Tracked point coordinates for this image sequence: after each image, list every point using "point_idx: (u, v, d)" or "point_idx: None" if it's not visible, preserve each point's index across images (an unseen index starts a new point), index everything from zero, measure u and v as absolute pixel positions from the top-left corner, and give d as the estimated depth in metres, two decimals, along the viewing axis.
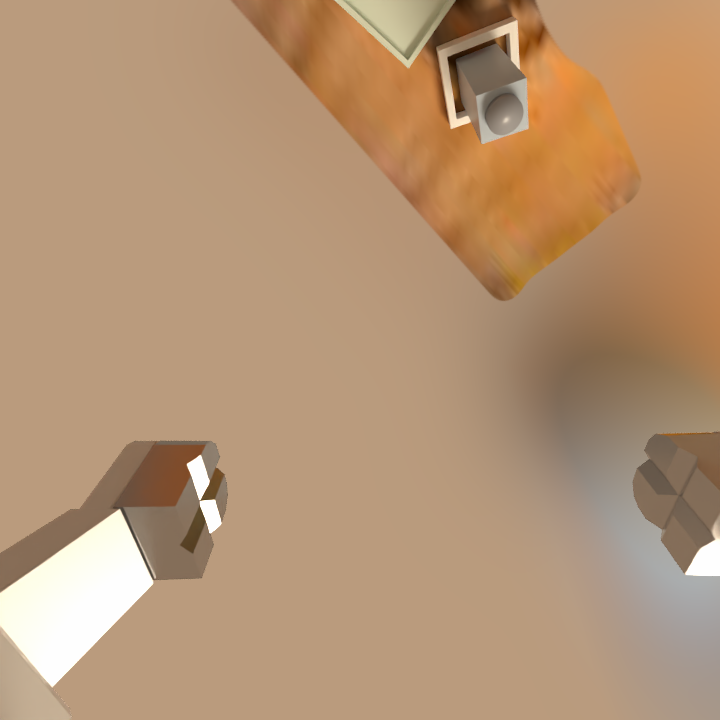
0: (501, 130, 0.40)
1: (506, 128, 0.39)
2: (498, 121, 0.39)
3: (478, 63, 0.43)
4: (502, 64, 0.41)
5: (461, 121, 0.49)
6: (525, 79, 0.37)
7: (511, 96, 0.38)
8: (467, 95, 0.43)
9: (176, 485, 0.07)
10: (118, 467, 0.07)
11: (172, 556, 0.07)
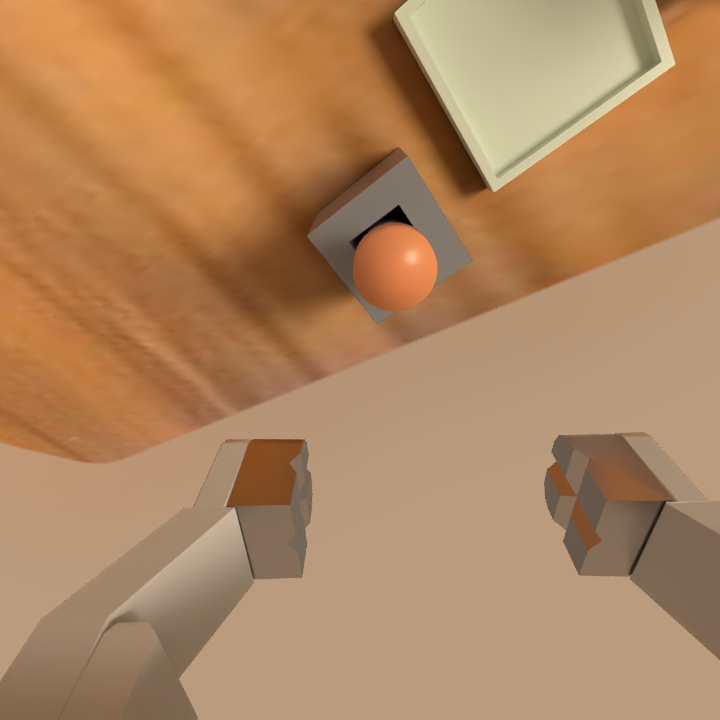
0: None
1: None
2: None
3: None
4: None
5: None
6: None
7: None
8: None
9: (284, 484, 0.07)
10: (220, 466, 0.07)
11: (277, 555, 0.07)
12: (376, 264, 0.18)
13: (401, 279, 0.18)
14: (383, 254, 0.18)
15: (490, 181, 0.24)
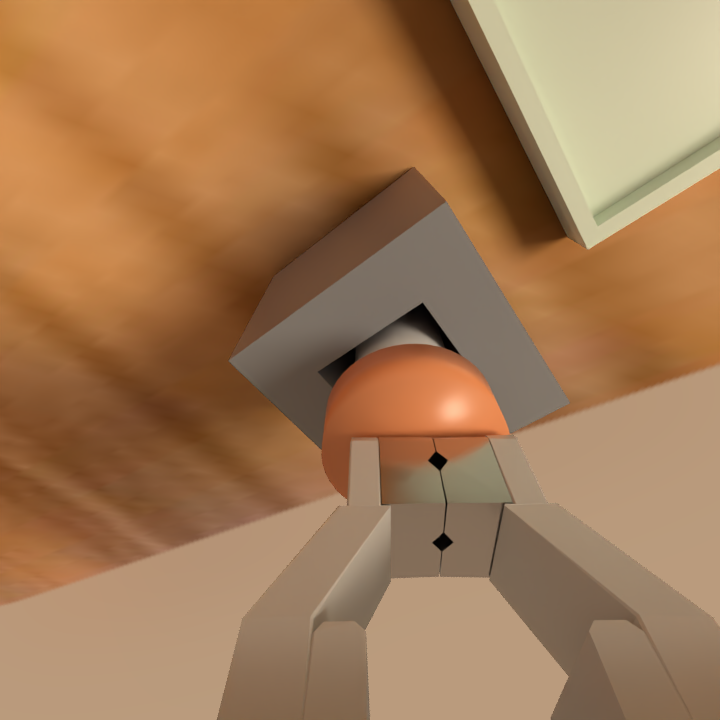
0: None
1: None
2: None
3: None
4: None
5: None
6: None
7: None
8: None
9: (431, 482, 0.07)
10: (359, 464, 0.07)
11: (419, 554, 0.07)
12: None
13: None
14: (388, 424, 0.08)
15: (583, 231, 0.13)
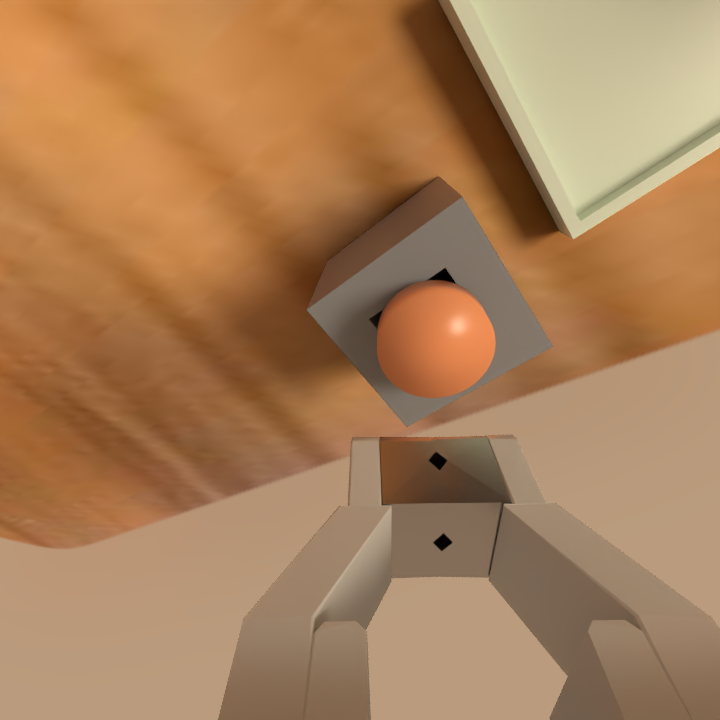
0: None
1: None
2: None
3: None
4: None
5: None
6: None
7: None
8: None
9: (432, 481, 0.07)
10: (360, 463, 0.07)
11: (420, 554, 0.07)
12: (410, 339, 0.13)
13: (444, 358, 0.13)
14: (419, 325, 0.13)
15: (569, 225, 0.17)
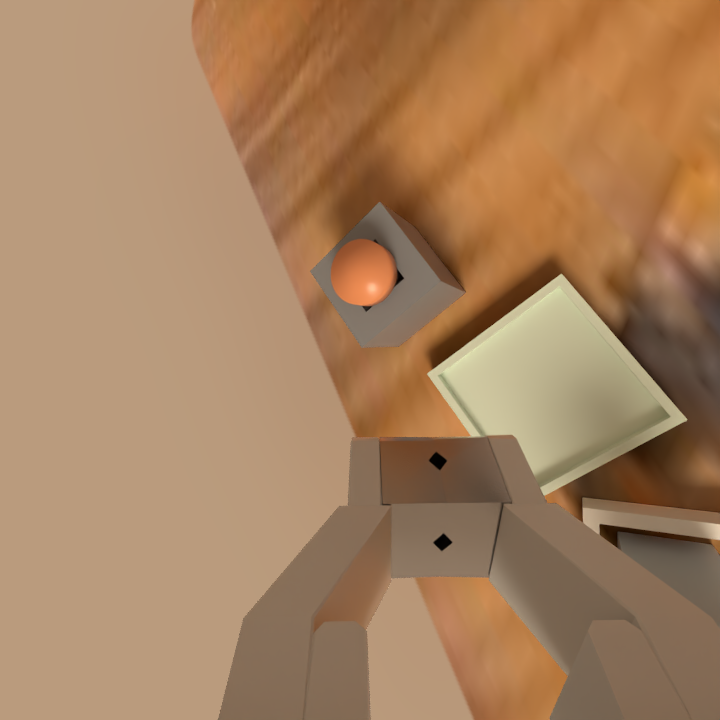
0: None
1: None
2: None
3: (667, 571, 0.20)
4: None
5: None
6: None
7: None
8: None
9: (431, 481, 0.07)
10: (359, 463, 0.07)
11: (420, 554, 0.07)
12: (363, 256, 0.23)
13: (353, 277, 0.24)
14: (371, 260, 0.23)
15: (435, 369, 0.28)
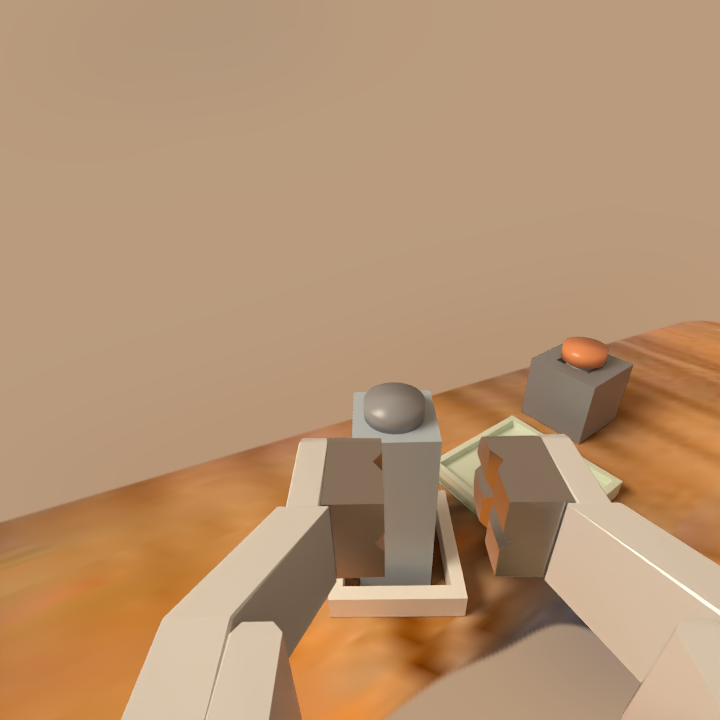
0: (372, 395, 0.22)
1: (373, 400, 0.22)
2: (389, 392, 0.23)
3: None
4: None
5: None
6: (439, 440, 0.21)
7: (423, 409, 0.22)
8: None
9: (373, 482, 0.07)
10: (304, 464, 0.07)
11: (363, 555, 0.07)
12: (596, 348, 0.37)
13: (580, 344, 0.37)
14: (595, 350, 0.36)
15: (517, 419, 0.38)
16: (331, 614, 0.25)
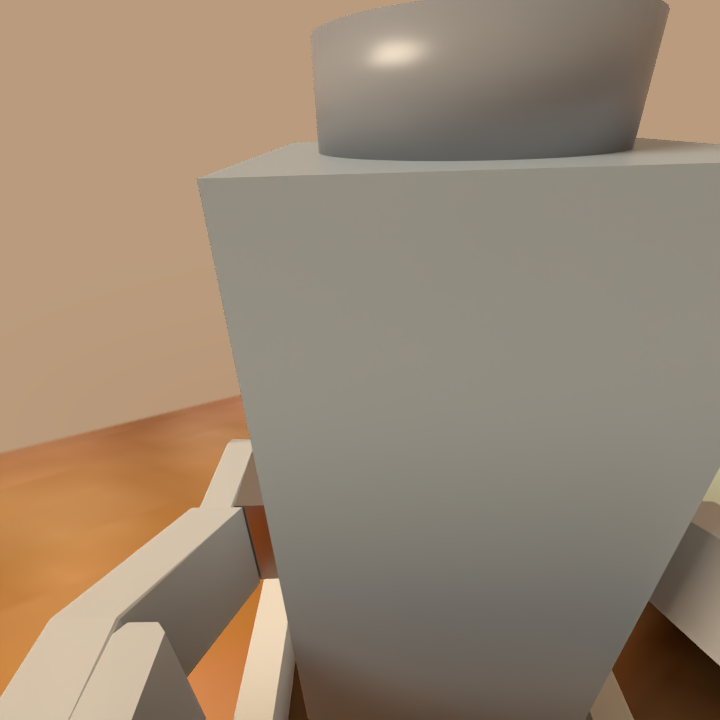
0: None
1: None
2: None
3: None
4: None
5: None
6: None
7: None
8: None
9: None
10: (226, 466, 0.07)
11: None
12: None
13: None
14: None
15: None
16: None
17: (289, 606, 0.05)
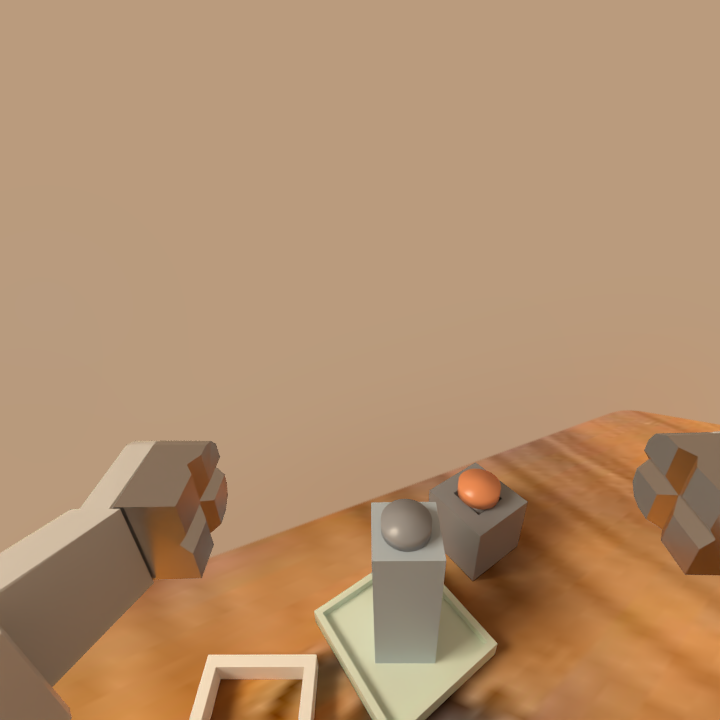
0: (388, 513, 0.27)
1: (389, 519, 0.27)
2: (402, 510, 0.27)
3: None
4: None
5: (208, 675, 0.30)
6: (444, 559, 0.25)
7: (430, 530, 0.26)
8: None
9: (176, 485, 0.07)
10: (118, 467, 0.07)
11: (172, 556, 0.07)
12: (489, 486, 0.37)
13: (475, 480, 0.37)
14: (487, 490, 0.36)
15: None
16: None
17: (374, 608, 0.28)
